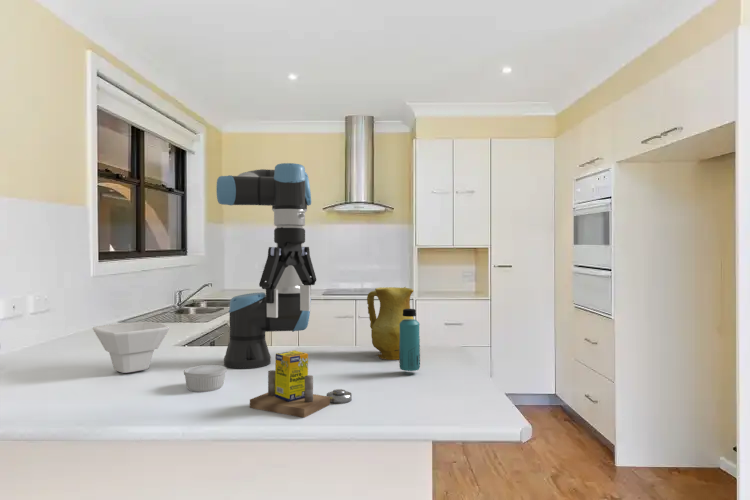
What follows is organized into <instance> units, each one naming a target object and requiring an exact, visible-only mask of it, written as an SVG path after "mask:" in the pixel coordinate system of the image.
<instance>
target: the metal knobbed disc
mask: <svg viewBox="0 0 750 500" xmlns="http://www.w3.org/2000/svg"><path fill="white" fill-rule="evenodd" d="M352 395H353V393H352V392H350V391H347V390H345V389H342V388H337V389H333V390H332V391H329V392H327V393H326V396H328V397H330V404H333V405H334V404H335V405H336V404H337V405H339V404H341V405H342V404H348V403H350V402H352Z"/></svg>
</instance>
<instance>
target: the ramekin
mask: <svg viewBox="0 0 750 500" xmlns="http://www.w3.org/2000/svg"><path fill="white" fill-rule="evenodd" d="M226 373H227V367H226V366H224V365H221V364H219V365H218V364H202V365H196V366H190V367H188V368H186V369H184V371H183V376H184V378H185V384H186V388H187V389H188V390H189V391H191V392H194V393H206V392H213V391H217V390H220V389H221V388H222V387H223V386H224V384H225V383H224V382H225V377H226Z"/></svg>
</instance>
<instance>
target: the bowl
mask: <svg viewBox="0 0 750 500" xmlns="http://www.w3.org/2000/svg"><path fill="white" fill-rule="evenodd" d="M92 330H93V332H94V333H95V336H96V337H97V339H98V340H99V342H100V344H101V345H102V347H103V349H104V351H106V352H108V353H109V356H110V360H111V363H112V366H113V369H114V370H115V371H117V372H119V373H123V374H126V373H134V372H140V371H145V370H149V367H150V364H151V362H152V358H153V354H154V351H155V350H158V349H159V347H160V345H161V344H162V342H163V341H164V339H165V337H166V335H167V333H168V331H169V330H170V327H169V326H168V325H166V324H164V323H160V322H154V321H134V322H124V323H123V322H122V323H114V324H113V323H112V324H106V325H97V326H93V328H92Z"/></svg>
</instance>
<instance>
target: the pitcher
mask: <svg viewBox="0 0 750 500" xmlns="http://www.w3.org/2000/svg"><path fill="white" fill-rule="evenodd" d="M413 293H414V289H413V288H410V287H406V286H404V287H397V286H396V287H395V286H394V287H392V286H391V287H388V286H387V287H376V288H375V289H374V290H372V291H370V292H368V294H367V296H366V304H367V305H368V306H367V313H368V315H369V316H368V319H369V323H370V324H369V326H370V329H371V342H372V345H373V346H372V347H374V348H375V349H376V350H377V351H379V352H380V354H378V355H377V358H379V359H382V360H387V361H390V360H391V361H397V360H398V361H399V353H400V351H399V350H400V347H399V346H400V325H399V324H400V322H401V321H402V320H404V319H414V316H412V317H408V316H403V309H411V296H412V294H413ZM375 297H377V298H378V300H379V310H378V315H377V313H376V309H375Z"/></svg>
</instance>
